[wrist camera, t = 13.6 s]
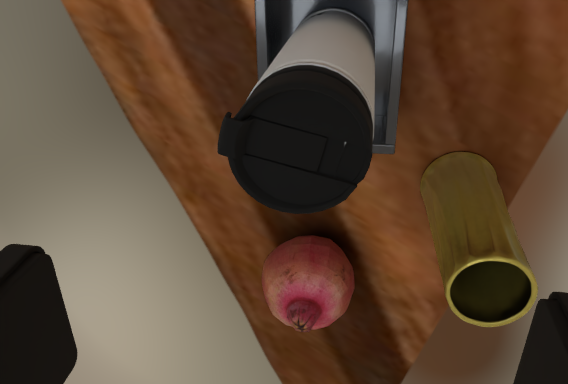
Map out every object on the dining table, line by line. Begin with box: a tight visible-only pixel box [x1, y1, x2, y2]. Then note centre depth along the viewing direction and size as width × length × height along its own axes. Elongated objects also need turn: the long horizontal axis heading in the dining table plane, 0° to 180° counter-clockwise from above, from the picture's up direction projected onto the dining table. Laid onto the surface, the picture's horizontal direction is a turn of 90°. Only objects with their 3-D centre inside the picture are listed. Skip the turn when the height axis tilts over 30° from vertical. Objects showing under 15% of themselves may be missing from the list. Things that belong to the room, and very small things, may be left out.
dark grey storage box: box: [255, 0, 408, 154], centre depth 36 cm, size 11×9×7 cm
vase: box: [420, 152, 538, 327], centre depth 37 cm, size 6×6×14 cm
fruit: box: [262, 235, 354, 332], centre depth 44 cm, size 8×8×10 cm
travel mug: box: [218, 7, 375, 214], centre depth 30 cm, size 6×7×20 cm
